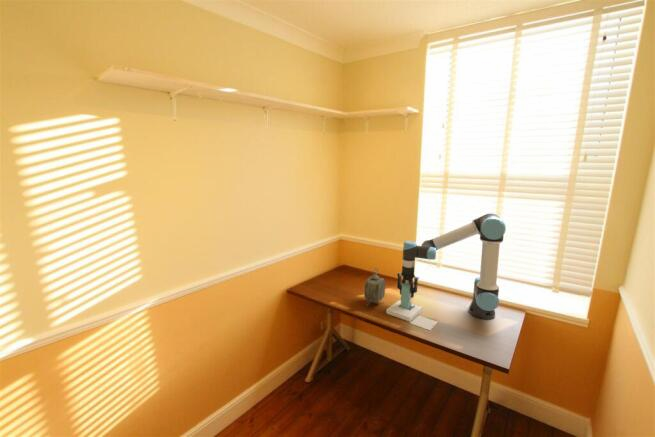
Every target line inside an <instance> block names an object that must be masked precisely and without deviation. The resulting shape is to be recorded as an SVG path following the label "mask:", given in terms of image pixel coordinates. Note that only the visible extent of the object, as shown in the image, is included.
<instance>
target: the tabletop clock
mask: <svg viewBox="0 0 655 437" xmlns="http://www.w3.org/2000/svg"><path fill="white" fill-rule="evenodd" d="M378 271H379V269H378V267H375V268H374V269H373V272H372V275H371V276H369V277H368V278H367V279H366V280H365V283H364V291H363V292H364V294H363V295H364V298H363V299H364V301H367V302H368V303H366V306H367V307H369V305H370V303H376V305H377V306H379V303H380V302H381V301H382V300H383V299H384V297H385V294H386V293H385V292H386V280H385V279H384V278H383V277H380V276H379V275H377V274H378Z"/></svg>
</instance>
